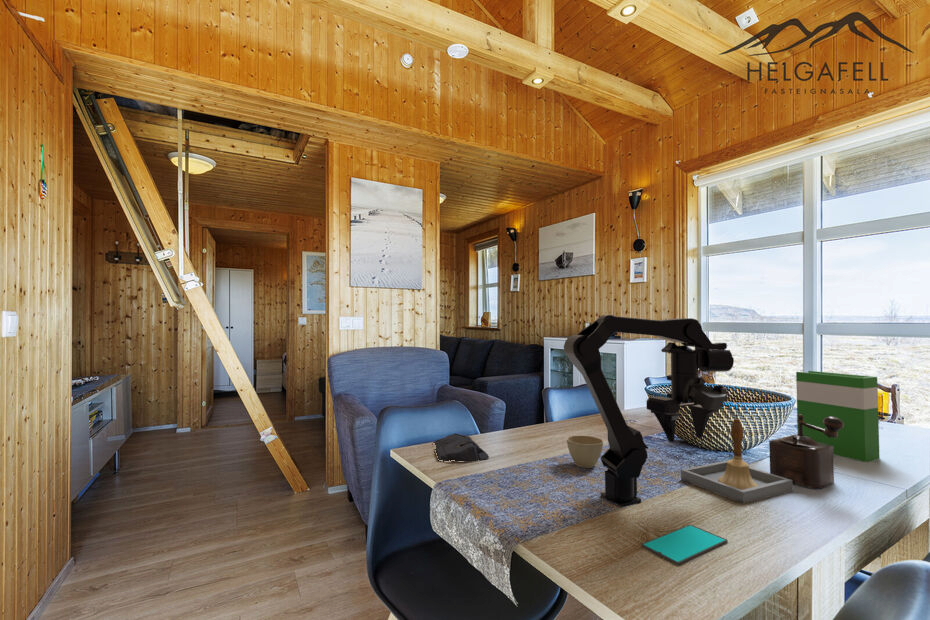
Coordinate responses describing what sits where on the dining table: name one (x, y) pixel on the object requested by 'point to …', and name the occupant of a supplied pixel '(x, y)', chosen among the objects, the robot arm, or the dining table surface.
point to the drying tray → (709, 480)
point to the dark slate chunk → (459, 449)
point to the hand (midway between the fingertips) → (685, 439)
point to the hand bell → (737, 463)
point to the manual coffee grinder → (805, 455)
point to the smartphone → (684, 544)
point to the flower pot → (585, 450)
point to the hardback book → (841, 411)
